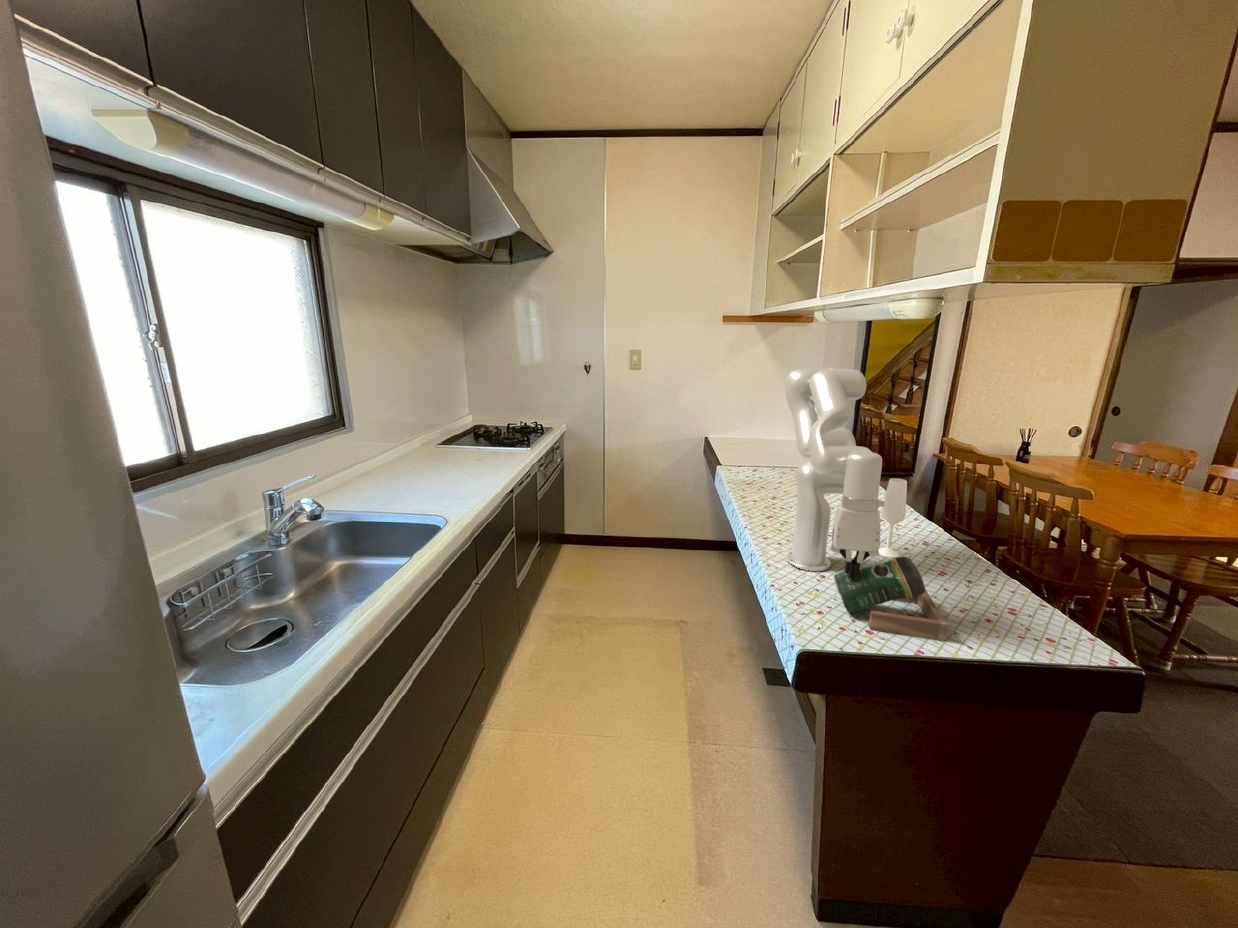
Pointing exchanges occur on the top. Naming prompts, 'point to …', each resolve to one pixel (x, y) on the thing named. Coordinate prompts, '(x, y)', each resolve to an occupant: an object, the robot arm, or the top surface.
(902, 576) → the coffee jar
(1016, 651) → the top surface
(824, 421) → the robot arm
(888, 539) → the champagne flute
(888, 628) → the display stand
